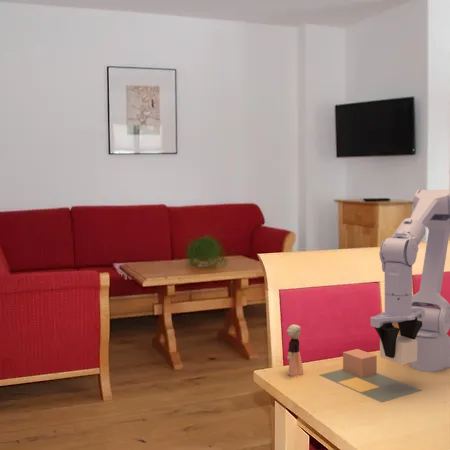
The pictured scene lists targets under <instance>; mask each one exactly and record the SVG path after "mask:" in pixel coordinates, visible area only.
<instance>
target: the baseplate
mask: <svg viewBox="0 0 450 450" xmlns="http://www.w3.org/2000/svg"><path fill="white" fill-rule="evenodd" d="M319 376H321V377H322V378H325V379H327V380H329V381H331V382H334V383H336V384H339V385H340V386H343V387H345V388H347V389H350V390H352V391H355V392H357V393H359V394H361V395H364V396H366V397H368V398H371V399H372V400H375V401H378V402H380V403H385V402H388V401H391V400H394V399H398V398H402V397H405V396H408V395H409V396H410V395H412V394H415V393H419V392H421V391H423V390H422V389H420V388H417V387H415V386H412V385H409V384H407V383H404V382H402V381H399V380H396V379H394V378H391V377H388V376H386V375H383V374H381V373H378V372H377V374H376V375H372V376H368V377H364V378H360V377H358V376H355V375H353V374H351V373H348V372H346V371H343V368H342V369H338V370H334V371H330V372H325V373H323V374H319Z"/></svg>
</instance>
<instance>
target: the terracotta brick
mask: <svg viewBox="0 0 450 450" xmlns="http://www.w3.org/2000/svg"><path fill="white" fill-rule="evenodd" d="M377 360H378V359H377V355H376V354H374V353H370V352H367V351H364V350H362V349H359V348H355V349H351V350H346V351H342V369H343V371H346V372H348V373H351V374H353V375H355V376H358V377H360V378H364V377H368V376H372V375H376V374H377V373H378V371H377V366H378V365H377V362H378V361H377Z"/></svg>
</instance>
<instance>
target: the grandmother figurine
mask: <svg viewBox="0 0 450 450" xmlns="http://www.w3.org/2000/svg"><path fill="white" fill-rule="evenodd" d="M286 333H287V334H288V335H289V338H290V340H289V342H288V351H287V356H286V357H287V358H286V359H287V360H288V364H289V365H288V375H289V376H290V377H292V378H297V377H298V376H302V375H304V368H303V362H302V357H301V353H300V340H299V339H300V338H301V326H300V325H298V324H291V325H289V326H288V328H287V330H286Z"/></svg>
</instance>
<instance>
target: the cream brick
mask: <svg viewBox="0 0 450 450" xmlns="http://www.w3.org/2000/svg"><path fill="white" fill-rule="evenodd" d="M379 358H381V359H385V360H388V361H390V362H393V363H395V364H399V365H406V364H411V362H415V361H417V340H414V339H411V338H407V337H404V336H401V335H400V334H398V335H397V339H396V350H395V356H394V358H390V357H387V356H385V352H384V348H383V345H382V342H381V339H380V338H379Z"/></svg>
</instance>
